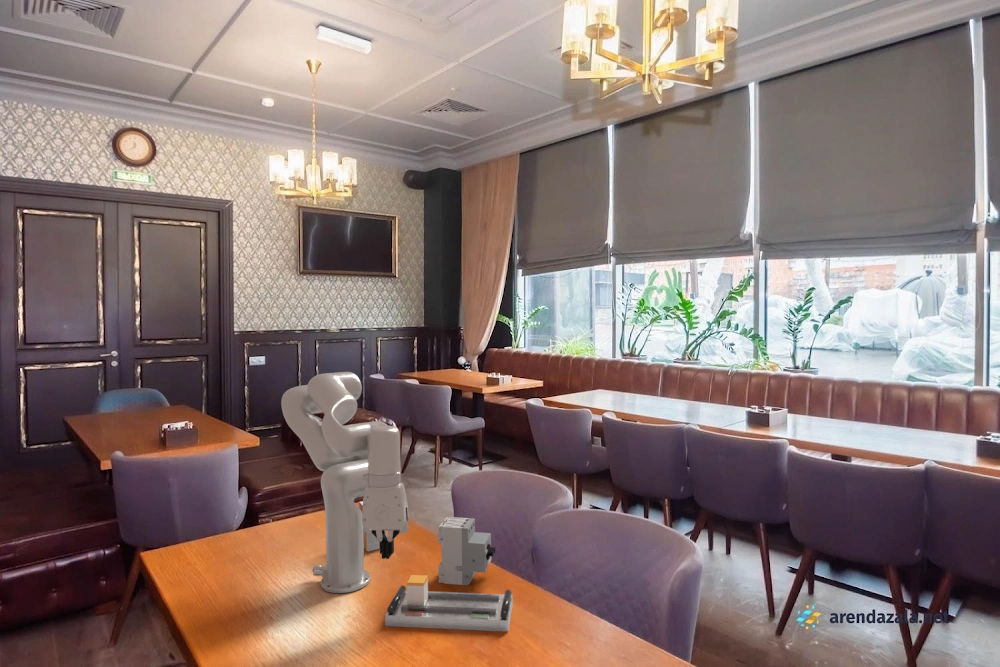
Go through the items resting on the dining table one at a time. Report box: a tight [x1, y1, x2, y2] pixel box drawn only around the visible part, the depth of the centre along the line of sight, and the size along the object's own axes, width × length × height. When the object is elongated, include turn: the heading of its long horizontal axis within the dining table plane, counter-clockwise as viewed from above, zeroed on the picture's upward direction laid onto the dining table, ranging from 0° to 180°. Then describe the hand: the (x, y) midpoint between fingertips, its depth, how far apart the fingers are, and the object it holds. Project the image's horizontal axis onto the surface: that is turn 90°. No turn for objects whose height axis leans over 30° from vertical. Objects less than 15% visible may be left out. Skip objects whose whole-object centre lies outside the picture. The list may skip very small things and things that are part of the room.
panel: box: [384, 585, 514, 633], centre depth 136 cm, size 28×12×4 cm, turn 84°
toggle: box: [406, 574, 429, 606], centre depth 137 cm, size 4×4×6 cm
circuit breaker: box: [437, 516, 496, 586], centre depth 154 cm, size 8×14×15 cm, turn 78°
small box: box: [358, 500, 387, 552], centre depth 178 cm, size 8×6×13 cm
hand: (387, 556), depth 137 cm, fingers closed
